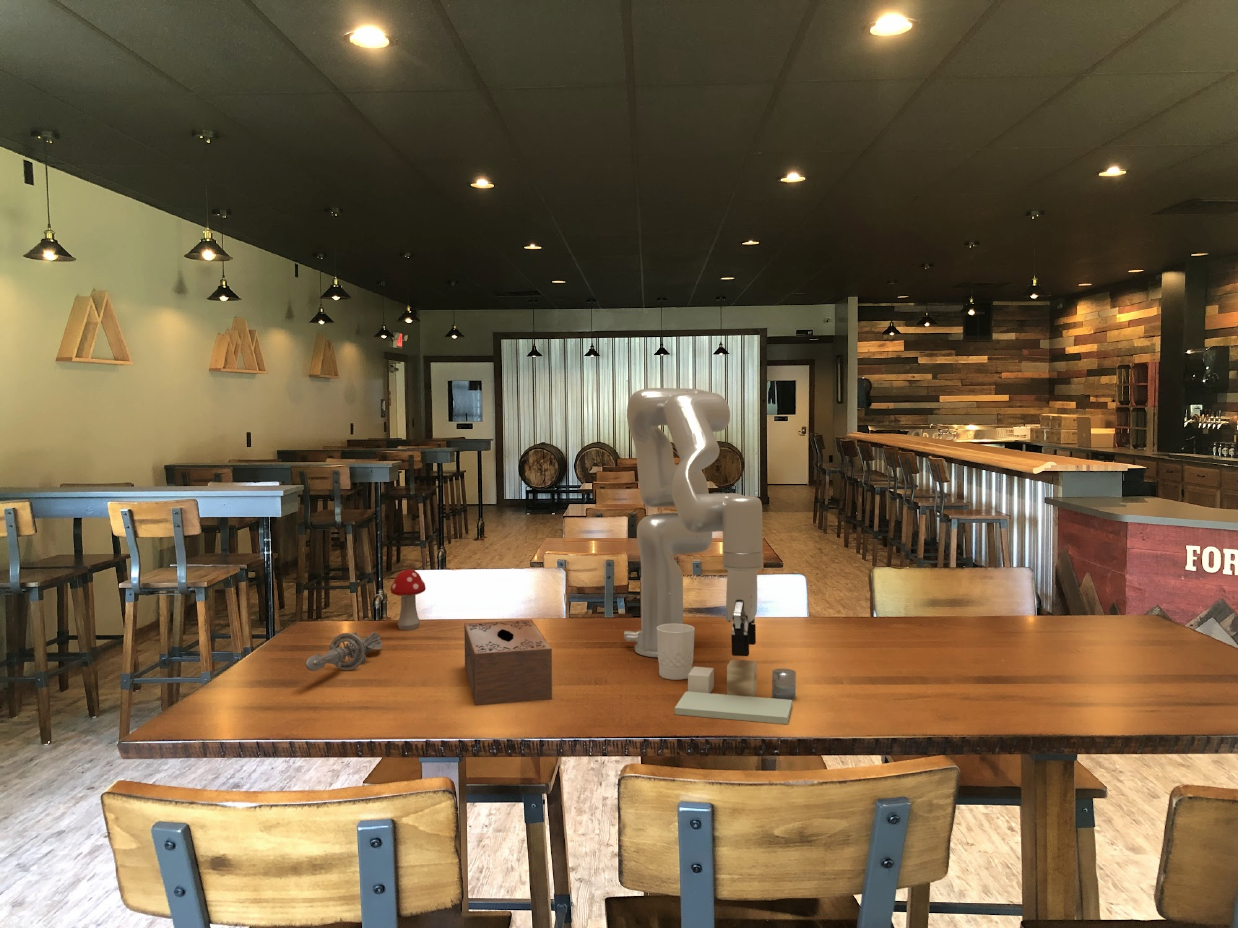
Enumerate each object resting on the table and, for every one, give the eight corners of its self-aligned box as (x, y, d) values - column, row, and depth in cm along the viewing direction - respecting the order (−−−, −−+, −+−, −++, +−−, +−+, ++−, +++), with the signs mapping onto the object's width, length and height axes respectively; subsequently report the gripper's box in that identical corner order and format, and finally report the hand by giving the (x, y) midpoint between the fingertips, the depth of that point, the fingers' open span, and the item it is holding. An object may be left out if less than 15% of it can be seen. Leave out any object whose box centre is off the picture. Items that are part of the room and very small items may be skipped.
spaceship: (282, 653, 172) (318, 638, 172) (358, 630, 207) (388, 618, 206) (295, 692, 172) (332, 677, 171) (369, 662, 206) (400, 650, 206)
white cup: (698, 671, 187) (698, 624, 186) (689, 682, 179) (689, 633, 179) (662, 668, 189) (662, 622, 189) (651, 678, 182) (651, 630, 181)
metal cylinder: (770, 700, 168) (771, 673, 168) (773, 693, 172) (773, 667, 172) (794, 702, 167) (794, 675, 166) (796, 695, 171) (796, 669, 171)
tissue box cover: (464, 669, 190) (464, 623, 190) (531, 664, 194) (531, 619, 193) (475, 706, 165) (474, 653, 165) (552, 700, 169) (551, 648, 168)
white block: (687, 695, 171) (687, 674, 171) (693, 686, 177) (693, 666, 177) (708, 696, 170) (708, 676, 170) (713, 687, 176) (713, 667, 176)
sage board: (674, 714, 160) (674, 707, 160) (685, 697, 169) (685, 691, 169) (787, 724, 154) (787, 717, 154) (792, 706, 164) (792, 699, 164)
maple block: (727, 697, 170) (726, 666, 169) (730, 689, 175) (730, 659, 174) (753, 699, 168) (753, 668, 168) (756, 691, 173) (756, 661, 173)
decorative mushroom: (400, 622, 233) (399, 565, 232) (431, 623, 232) (430, 566, 231) (385, 631, 223) (384, 572, 223) (417, 632, 222) (417, 573, 221)
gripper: (730, 554, 179) (731, 639, 180) (715, 566, 163) (717, 659, 163) (767, 555, 177) (768, 640, 178) (756, 567, 161) (758, 661, 161)
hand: (744, 649), depth 170 cm, fingers open, 9 cm apart
